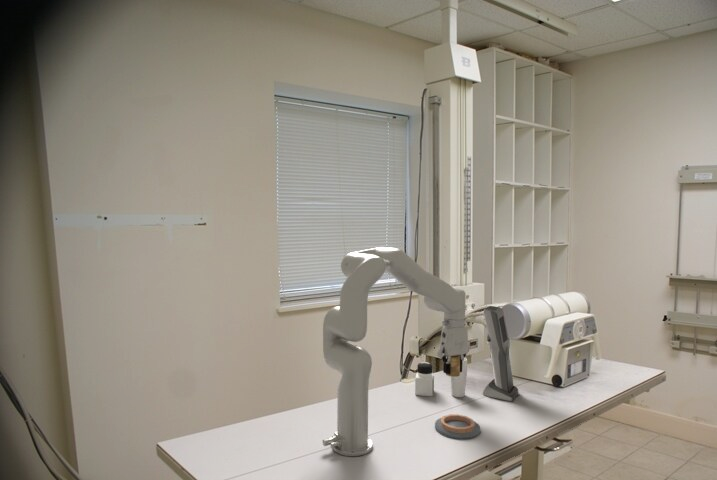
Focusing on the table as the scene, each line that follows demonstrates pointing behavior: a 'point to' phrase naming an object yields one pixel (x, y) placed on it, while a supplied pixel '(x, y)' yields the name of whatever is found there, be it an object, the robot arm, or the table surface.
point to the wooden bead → (454, 366)
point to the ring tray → (459, 424)
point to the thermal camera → (499, 356)
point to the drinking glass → (459, 381)
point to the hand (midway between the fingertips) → (452, 371)
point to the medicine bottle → (424, 380)
